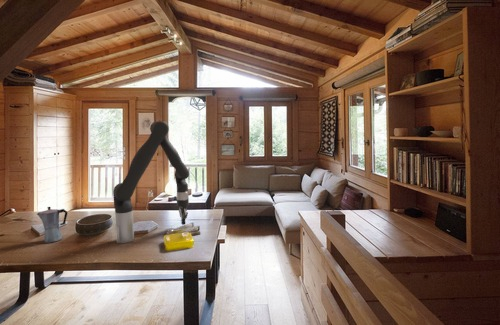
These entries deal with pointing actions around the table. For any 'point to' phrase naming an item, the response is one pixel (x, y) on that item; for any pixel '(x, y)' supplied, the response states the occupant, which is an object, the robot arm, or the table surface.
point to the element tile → (178, 241)
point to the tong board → (189, 232)
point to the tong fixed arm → (184, 230)
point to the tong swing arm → (185, 226)
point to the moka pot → (52, 224)
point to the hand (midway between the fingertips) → (183, 224)
